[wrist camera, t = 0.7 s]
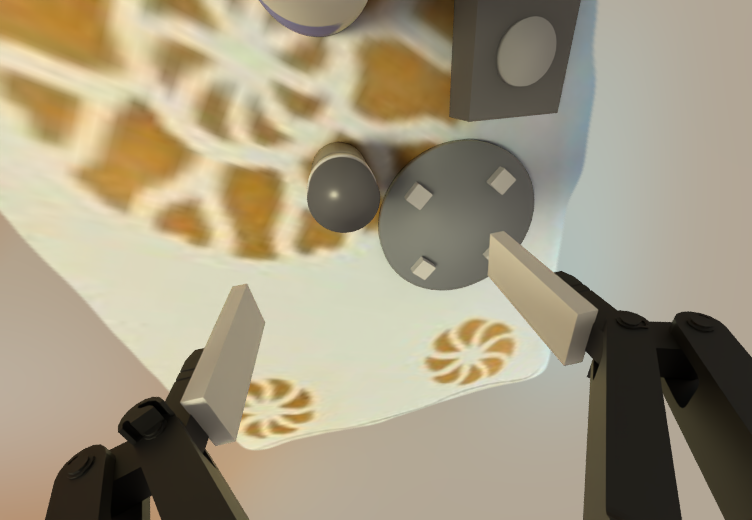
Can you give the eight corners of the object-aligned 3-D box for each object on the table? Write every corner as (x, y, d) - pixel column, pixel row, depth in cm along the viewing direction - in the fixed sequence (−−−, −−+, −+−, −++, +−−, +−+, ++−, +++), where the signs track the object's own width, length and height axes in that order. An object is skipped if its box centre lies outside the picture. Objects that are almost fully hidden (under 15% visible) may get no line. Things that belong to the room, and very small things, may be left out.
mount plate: (367, 155, 30) (369, 160, 28) (537, 125, 31) (551, 128, 29) (388, 296, 40) (391, 307, 38) (519, 270, 41) (528, 279, 39)
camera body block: (455, -51, 24) (489, -87, 19) (550, -56, 25) (608, -92, 20) (448, 116, 30) (472, 122, 25) (524, 108, 31) (563, 113, 26)
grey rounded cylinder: (304, 146, 29) (296, 168, 21) (362, 136, 29) (375, 154, 22) (318, 202, 32) (316, 239, 24) (371, 192, 32) (385, 226, 25)
